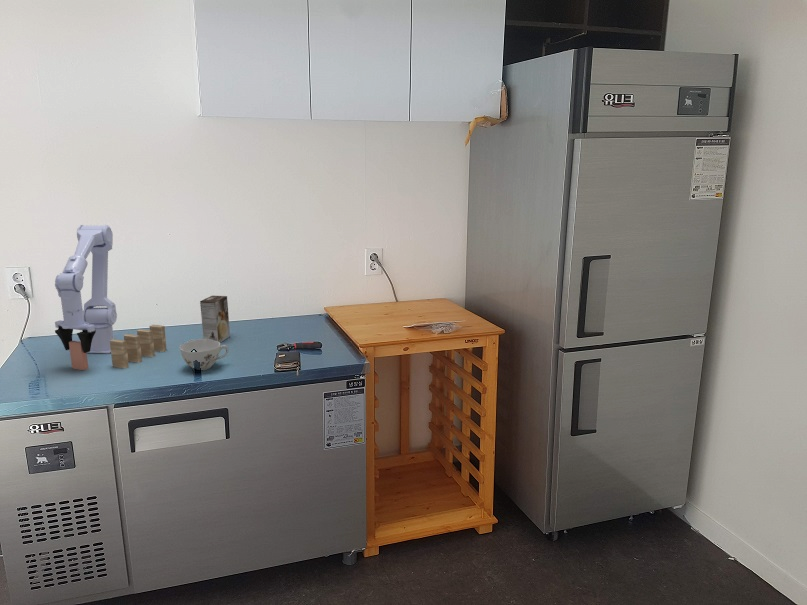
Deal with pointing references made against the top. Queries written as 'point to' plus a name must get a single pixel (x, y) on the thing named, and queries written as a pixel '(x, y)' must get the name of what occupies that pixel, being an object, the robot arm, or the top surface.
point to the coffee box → (215, 318)
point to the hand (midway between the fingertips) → (77, 350)
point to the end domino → (78, 356)
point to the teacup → (202, 352)
